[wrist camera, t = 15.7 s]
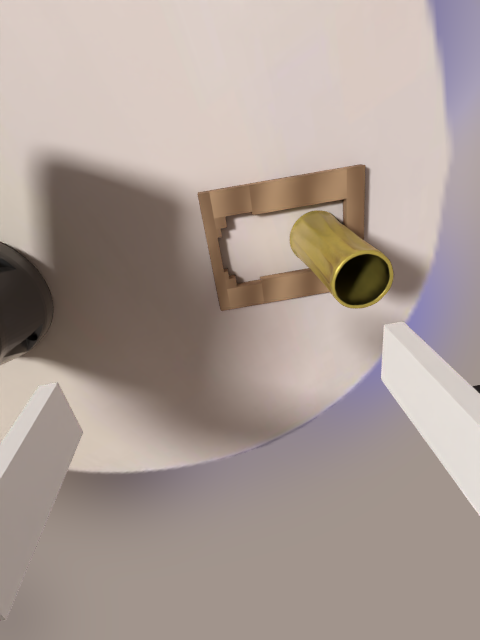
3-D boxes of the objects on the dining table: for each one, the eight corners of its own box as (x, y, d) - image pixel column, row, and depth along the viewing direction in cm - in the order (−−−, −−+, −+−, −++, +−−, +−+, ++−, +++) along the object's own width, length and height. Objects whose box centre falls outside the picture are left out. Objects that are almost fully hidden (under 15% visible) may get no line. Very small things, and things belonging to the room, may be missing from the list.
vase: (344, 250, 42) (403, 299, 30) (296, 268, 43) (334, 323, 30) (334, 202, 40) (394, 233, 27) (283, 221, 40) (318, 261, 28)
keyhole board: (220, 306, 44) (220, 311, 43) (197, 192, 38) (197, 194, 37) (359, 282, 45) (362, 286, 44) (360, 164, 38) (365, 165, 37)
